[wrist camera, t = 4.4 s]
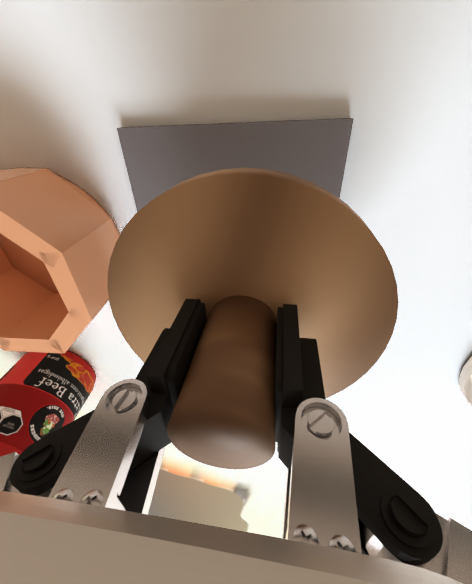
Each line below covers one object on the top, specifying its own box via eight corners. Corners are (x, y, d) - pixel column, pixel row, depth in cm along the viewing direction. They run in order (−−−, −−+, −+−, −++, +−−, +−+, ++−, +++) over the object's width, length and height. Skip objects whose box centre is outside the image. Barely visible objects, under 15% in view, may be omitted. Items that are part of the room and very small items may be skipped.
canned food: (111, 385, 31) (46, 500, 22) (58, 393, 33) (-22, 501, 24) (69, 338, 27) (-32, 454, 18) (11, 350, 29) (-106, 460, 20)
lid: (433, 164, 8) (674, 240, 3) (354, 400, 15) (392, 550, 10) (84, 170, 10) (-124, 226, 5) (151, 380, 17) (92, 498, 11)
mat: (350, 118, 14) (353, 118, 14) (317, 308, 22) (319, 312, 21) (121, 127, 16) (116, 128, 15) (163, 304, 23) (161, 308, 23)
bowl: (100, 165, 17) (33, 188, 12) (141, 303, 23) (108, 355, 18) (-53, 169, 18) (-172, 191, 13) (25, 300, 24) (-36, 348, 19)
